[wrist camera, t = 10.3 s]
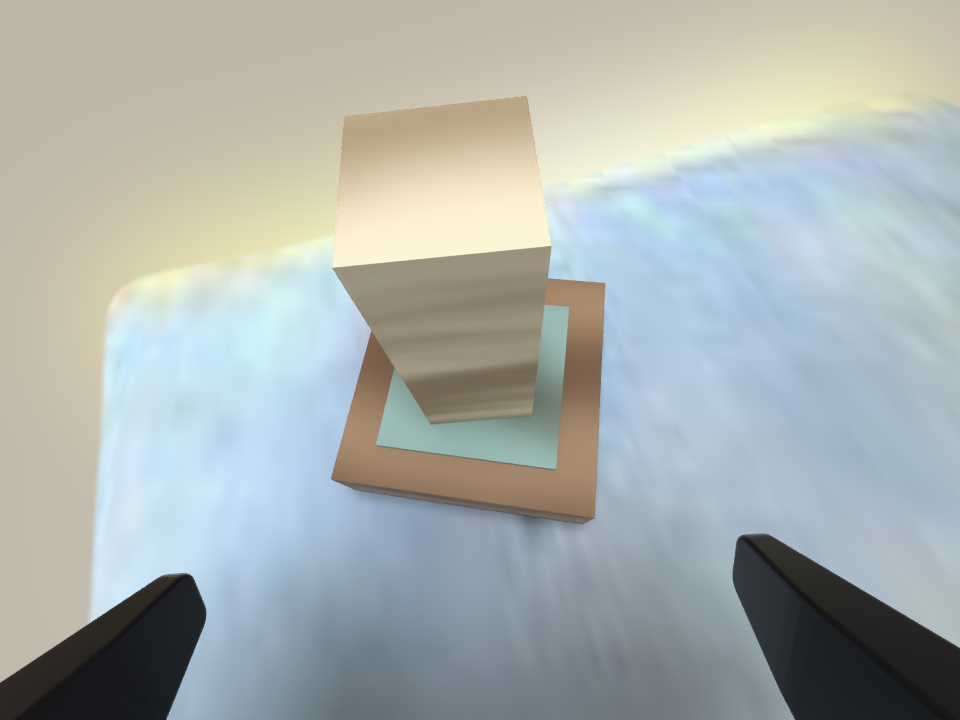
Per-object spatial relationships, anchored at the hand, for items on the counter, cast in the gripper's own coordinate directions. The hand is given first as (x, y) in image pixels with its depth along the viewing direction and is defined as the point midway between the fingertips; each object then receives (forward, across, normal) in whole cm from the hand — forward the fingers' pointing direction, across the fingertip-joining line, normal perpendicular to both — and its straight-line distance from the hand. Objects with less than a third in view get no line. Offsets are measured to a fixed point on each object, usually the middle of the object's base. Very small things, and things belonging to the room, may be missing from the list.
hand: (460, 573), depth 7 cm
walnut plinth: (+14, 0, +3) cm, 14 cm away
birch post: (+12, 0, +1) cm, 12 cm away
